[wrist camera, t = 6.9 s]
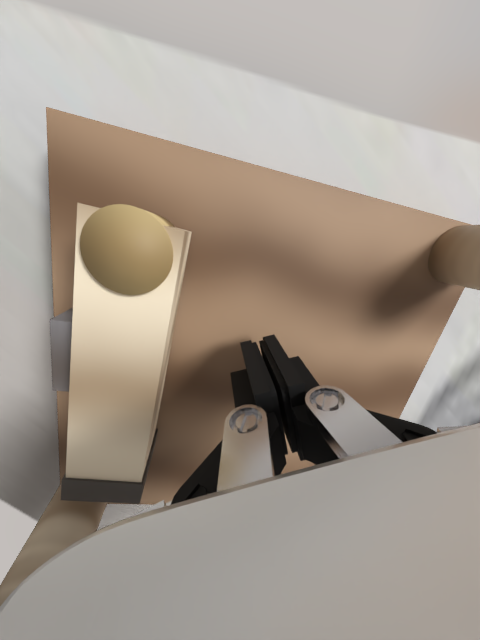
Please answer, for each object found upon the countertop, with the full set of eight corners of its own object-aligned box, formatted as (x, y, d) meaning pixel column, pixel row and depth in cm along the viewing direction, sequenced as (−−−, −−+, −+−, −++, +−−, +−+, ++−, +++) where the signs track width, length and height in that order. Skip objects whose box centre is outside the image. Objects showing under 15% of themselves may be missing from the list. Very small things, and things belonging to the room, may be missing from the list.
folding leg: (114, 203, 10) (69, 188, 6) (195, 225, 10) (189, 221, 7) (94, 439, 13) (59, 502, 10) (154, 445, 14) (139, 506, 11)
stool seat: (81, 134, 11) (-154, -47, 4) (446, 231, 14) (673, 228, 7) (81, 465, 17) (-9, 628, 10) (337, 476, 21) (403, 602, 14)
